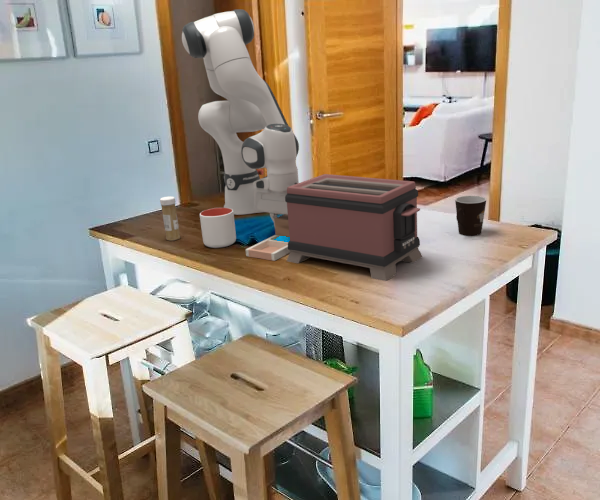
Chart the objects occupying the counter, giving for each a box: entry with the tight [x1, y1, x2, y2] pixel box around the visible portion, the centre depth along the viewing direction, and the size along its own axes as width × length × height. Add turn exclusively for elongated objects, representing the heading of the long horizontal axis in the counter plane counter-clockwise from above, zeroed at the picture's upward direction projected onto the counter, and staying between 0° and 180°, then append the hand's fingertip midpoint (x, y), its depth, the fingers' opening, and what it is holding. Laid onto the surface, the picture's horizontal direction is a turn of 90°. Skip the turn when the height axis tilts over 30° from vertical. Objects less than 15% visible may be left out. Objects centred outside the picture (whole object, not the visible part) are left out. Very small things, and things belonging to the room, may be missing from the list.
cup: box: [199, 207, 237, 249], centre depth 181 cm, size 10×10×10 cm
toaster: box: [285, 173, 423, 282], centre depth 157 cm, size 19×34×21 cm, turn 52°
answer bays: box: [245, 234, 290, 261], centre depth 174 cm, size 19×10×2 cm, turn 146°
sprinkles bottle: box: [159, 196, 181, 242], centre depth 189 cm, size 5×5×13 cm
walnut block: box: [274, 214, 290, 237], centre depth 176 cm, size 5×5×5 cm
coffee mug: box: [454, 195, 487, 237], centre depth 173 cm, size 12×9×10 cm
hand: (286, 228), depth 176 cm, fingers closed on walnut block, 5 cm apart
